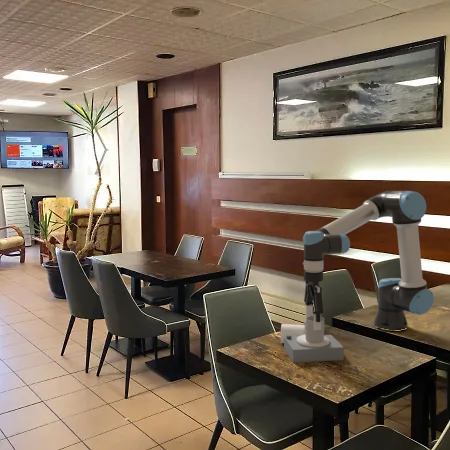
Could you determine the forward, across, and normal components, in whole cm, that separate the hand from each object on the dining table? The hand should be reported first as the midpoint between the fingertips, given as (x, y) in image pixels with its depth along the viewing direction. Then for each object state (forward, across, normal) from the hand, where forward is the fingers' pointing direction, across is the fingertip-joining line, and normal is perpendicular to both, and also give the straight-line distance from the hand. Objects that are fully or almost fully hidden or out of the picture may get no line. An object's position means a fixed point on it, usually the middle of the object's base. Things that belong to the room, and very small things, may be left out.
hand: (313, 325), depth 194 cm
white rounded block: (+12, -16, -4) cm, 20 cm away
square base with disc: (+12, 0, 0) cm, 12 cm away
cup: (+6, 0, 0) cm, 6 cm away
